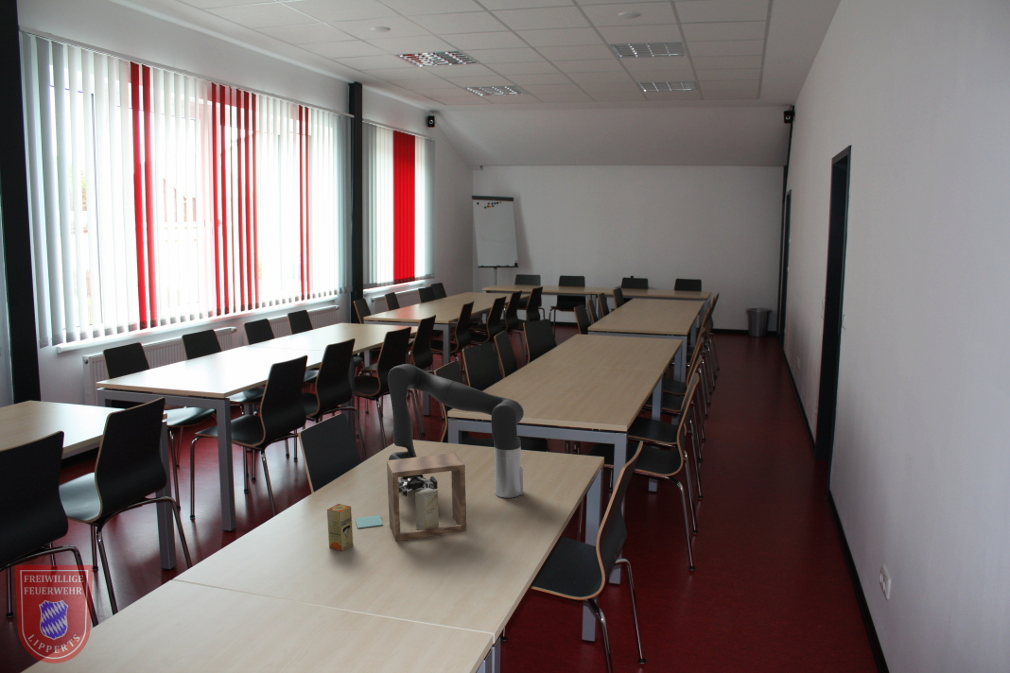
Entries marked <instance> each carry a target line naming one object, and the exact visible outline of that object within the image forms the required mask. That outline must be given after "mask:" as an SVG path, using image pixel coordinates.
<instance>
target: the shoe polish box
mask: <svg viewBox="0 0 1010 673" xmlns="http://www.w3.org/2000/svg"><path fill="white" fill-rule="evenodd" d="M352 515H353V514H352V506H350V505H345V504H341V503H337V504H335V505H332V506H331V507H329V508H327V509H326V518H327V530H328V531H327V532H328V533H327V534H328V548H329V549H331V548H332V550H336V551H339V552H343V551H345V550H346V549H348V548H350V547H352V546H353V545H354V536H353V519H352V518H353V516H352Z"/></svg>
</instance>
